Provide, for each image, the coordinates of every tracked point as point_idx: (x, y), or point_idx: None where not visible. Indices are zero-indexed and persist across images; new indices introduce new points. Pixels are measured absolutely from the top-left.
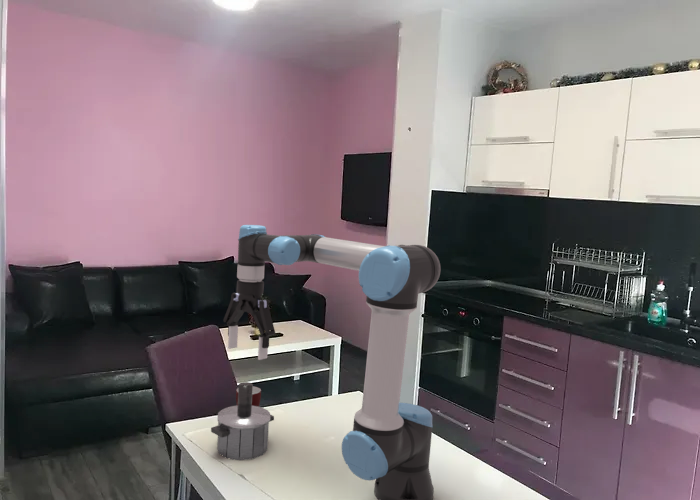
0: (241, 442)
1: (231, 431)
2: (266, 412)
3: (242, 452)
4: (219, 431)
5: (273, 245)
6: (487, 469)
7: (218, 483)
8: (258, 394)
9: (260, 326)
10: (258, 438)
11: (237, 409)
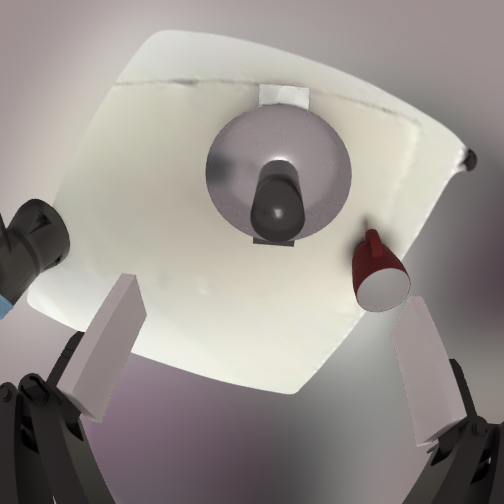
0: None
1: None
2: (249, 228)
3: None
4: (274, 87)
5: None
6: (62, 320)
7: (194, 34)
8: (355, 292)
9: (42, 457)
10: None
11: (291, 168)
